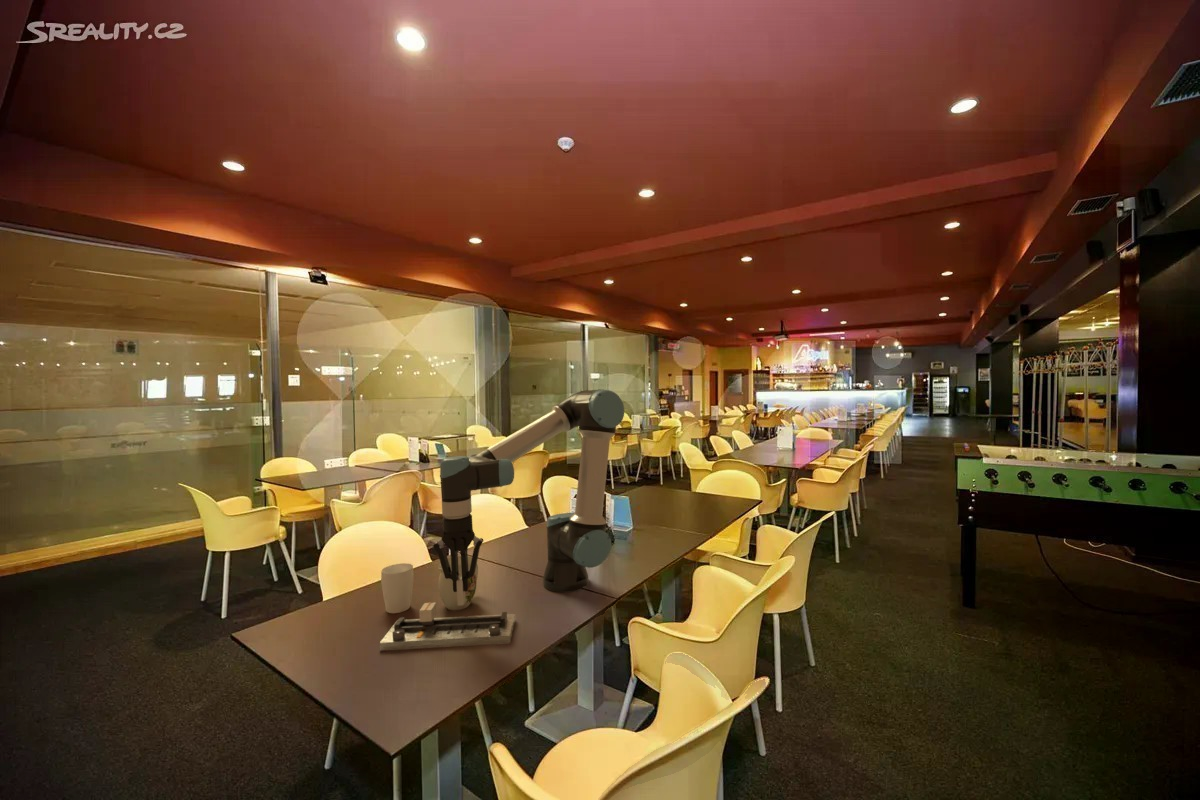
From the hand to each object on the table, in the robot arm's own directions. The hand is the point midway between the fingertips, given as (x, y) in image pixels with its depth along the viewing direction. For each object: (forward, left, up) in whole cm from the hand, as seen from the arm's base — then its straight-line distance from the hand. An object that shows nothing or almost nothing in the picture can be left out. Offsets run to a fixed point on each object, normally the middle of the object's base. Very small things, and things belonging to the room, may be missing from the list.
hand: (461, 602), depth 125 cm
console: (+3, +1, -8) cm, 8 cm away
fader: (+9, 0, -6) cm, 10 cm away
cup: (+23, -17, -8) cm, 29 cm away
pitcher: (+5, -18, -8) cm, 20 cm away
